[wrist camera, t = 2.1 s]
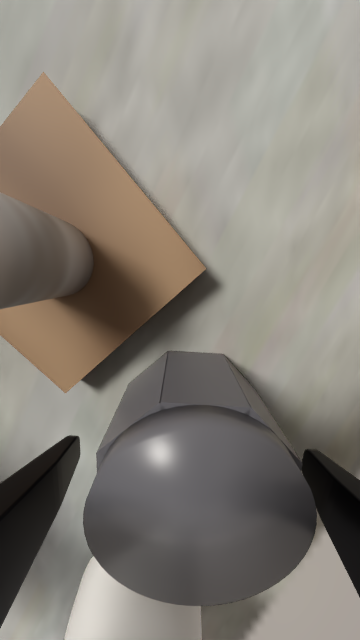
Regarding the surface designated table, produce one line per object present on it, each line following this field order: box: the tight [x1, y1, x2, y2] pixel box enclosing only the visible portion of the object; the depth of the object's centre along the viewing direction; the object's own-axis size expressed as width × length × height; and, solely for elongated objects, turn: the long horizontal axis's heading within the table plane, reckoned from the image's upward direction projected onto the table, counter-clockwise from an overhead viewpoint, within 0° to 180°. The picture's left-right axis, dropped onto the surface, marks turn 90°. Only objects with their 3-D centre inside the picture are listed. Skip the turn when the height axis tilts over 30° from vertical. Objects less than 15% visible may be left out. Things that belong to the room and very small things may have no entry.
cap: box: [83, 351, 317, 606], centre depth 8 cm, size 6×6×5 cm
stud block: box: [0, 72, 206, 393], centre depth 7 cm, size 8×8×5 cm
